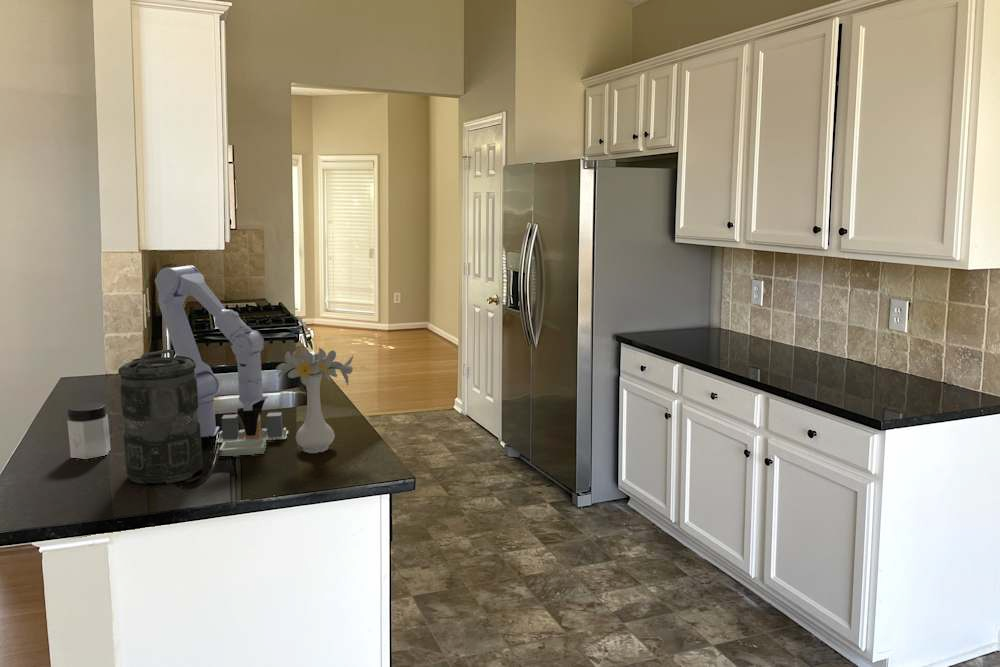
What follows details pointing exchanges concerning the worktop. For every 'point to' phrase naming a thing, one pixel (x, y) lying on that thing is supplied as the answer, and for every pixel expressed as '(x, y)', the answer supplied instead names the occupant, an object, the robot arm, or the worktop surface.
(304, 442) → the flower vase
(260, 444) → the tray
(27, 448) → the worktop surface
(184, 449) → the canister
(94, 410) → the jar
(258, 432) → the block
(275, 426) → the panel
